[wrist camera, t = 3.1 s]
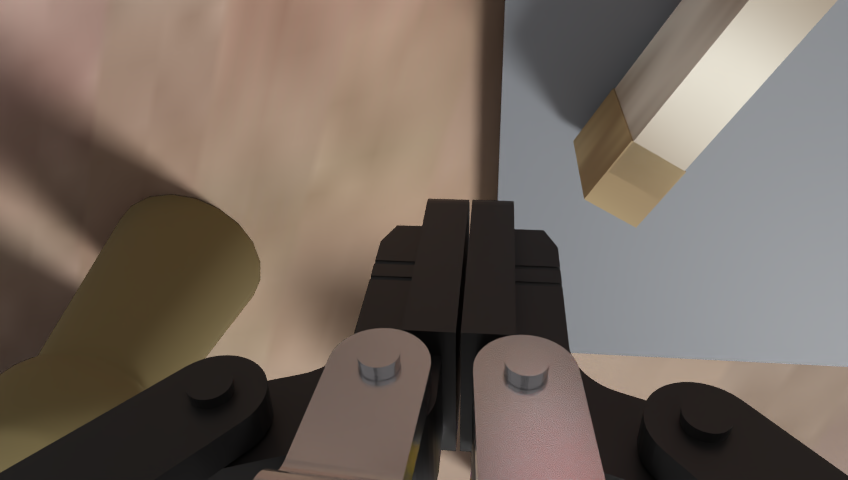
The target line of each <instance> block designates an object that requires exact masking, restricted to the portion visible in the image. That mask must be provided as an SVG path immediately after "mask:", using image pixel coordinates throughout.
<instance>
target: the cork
mask: <svg viewBox="0 0 848 480" xmlns="http://www.w3.org/2000/svg"><path fill="white" fill-rule="evenodd" d="M259 282H260V260H259V258H258V255H257V252H256V250H255V247H254V244H253V242H252V241H251V240H250V238H249V237H248V236H247V234H246V233H245V232H244V230H243V229H242V228H241V227H240V225H239V224H238V223H236V222H235V221H234V220H233V219H231V218H230V217H229V216H227V215H226V214H225V213H224V212H222V211H221V210H220V209H218V208H216V207H213V206H211V205H209V204H207V203H204V202H202V201H200V200H198V199H195V198H189V197H184V196H178V195H172V194H171V195H162V196H153V197H148V198H146V199H144V200H142V201H140V202H138V203H136V204H134V205H132V206H131V207H130V208H129V210H128V211H127V212H126V213H125V214H124V216H123V217H122V218H121V219H120V221H119V222H118V224H117V226H116V227H115V229H114V231H113V232H112V234H111V236H110V237H109V239H108V241H107V242H106V244H105V245H104V247H103V249H102V250H101V252H100V254H99V255H98V257H97V259H96V260H95V262H94V264H93V265H92V267H91V269H90V270H89V272H88V274H87V275H86V277H85V278H84V280H83V282H82V283H81V285H80V287H79V288H78V290H77V292H76V293H75V295H74V297H73V298H72V300H71V302H70V303H69V305H68V307H67V308H66V310H65V311H64V313H63V315H62V316H61V318H60V320H59V321H58V323H57V325H56V326H55V328H54V330H53V331H52V333H51V335H50V336H49V338H48V340H47V341H46V343H45V345H44V346H43V348H42V349H41V351H40V353H39V354H38V356H37V357H33V358H30V359H28V360H25V361H23V362H21V363H18V364H16V365H14V366H12V367H11V368H9V369H8V370H6V371H5V372H3V373H2V374H0V472H2V471H4V470H6V469H7V468H9V467H11V466H13V465H14V464H16V463H18V462H20V461H21V460H23V459H25V458H27V457H28V456H30V455H32V454H34V453H35V452H37V451H39V450H41V449H42V448H44V447H46V446H48V445H49V444H51V443H53V442H55V441H56V440H58V439H60V438H62V437H63V436H65V435H67V434H69V433H70V432H72V431H74V430H76V429H77V428H79V427H81V426H83V425H84V424H86V423H88V422H90V421H91V420H93V419H95V418H97V417H98V416H100V415H102V414H104V413H105V412H107V411H109V410H111V409H112V408H114V407H116V406H118V405H119V404H121V403H123V402H125V401H126V400H128V399H130V398H132V397H133V396H135V395H137V394H139V393H140V392H142V391H144V390H145V389H147V388H149V387H151V386H152V385H154V384H156V383H158V382H159V381H161V380H163V379H165V378H166V377H168V376H170V375H172V374H173V373H175V372H177V371H179V370H180V369H182V368H184V367H186V366H188V365H190V364H192V363H194V362H197V361H199V360H202V359H205V358H206V356H207V355H208V354H209V353H210V351H211V350H212V349H213V347H214V346H215V345H216V343H217V342H218V341H219V340H220V338H221V337H222V336H223V334H224V333H225V332H226V330H227V329H228V328H229V327H230V325H231V324H232V323H233V321H234V320H235V319H236V317H237V316H238V315H239V314H240V312H241V311H242V310H243V308H244V307H245V306H246V305H247V303H248V302H249V301H250V299H251V298H252V297H253V295H254V293H255V291H256V288H257V286H258V284H259Z"/></svg>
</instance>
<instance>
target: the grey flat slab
mask: <svg viewBox="0 0 848 480" xmlns="http://www.w3.org/2000/svg"><path fill="white" fill-rule="evenodd" d="M681 1H682V0H505V14H504V41H503V68H502V94H501V121H500V148H499V174H498V201H514V229H524V230H544V231H545V232H546V234H547V235H548V236H549V237H550V238H551V240H552V241H553V242H554V243H555V244H556V246H557V247H558V252H559V261H560V271H561V279H562V287H563V296H564V305H565V314H566V322H567V331H568V340H569V348H570V352H571V353H586V354H606V355H625V356H645V357H665V358H685V359H705V360H724V361H744V362H764V363H784V364H804V365H824V366H843V367H848V0H837V2H836V3H835V4H834V5H833V6H832V7H831V8H830V9H829V11H828V12H827V13H826V14H825V15H824V16H823V17H822V18H821V19H820V21H819V22H818V23H817V24H816V25H815V26H814V27H813V28H812V29H811V31H810V32H809V33H808V34H807V35H806V36H805V37H804V38H803V40H802V41H801V42H800V43H799V44H798V45H797V46H796V47H795V48H794V50H793V51H792V52H791V53H790V54H789V55H788V56H787V57H786V58H785V60H784V61H783V62H782V63H781V64H780V65H779V66H778V67H777V69H776V70H775V71H774V72H773V73H772V74H771V75H770V76H769V77H768V79H767V80H766V81H765V82H764V83H763V84H762V85H761V86H760V88H759V89H758V90H757V91H756V92H755V93H754V94H753V95H752V96H751V98H750V99H749V100H748V101H747V102H746V103H745V104H744V105H743V106H742V108H741V109H740V110H739V111H738V112H737V113H736V114H735V115H734V117H733V118H732V119H731V120H730V121H729V122H728V123H727V124H726V125H725V127H724V128H723V129H722V130H721V131H720V132H719V133H718V134H717V135H716V137H715V138H714V139H713V140H712V141H711V142H710V143H709V144H708V146H707V147H706V148H705V149H704V150H703V151H702V152H701V153H700V154H699V156H698V157H697V158H696V159H695V160H694V161H693V162H692V163H691V165H690V166H689V167H688V168H687V169H686V170H685V171H686V173H685V174H684V175H683V176H682V177H681V178H680V179H679V181H678V182H677V183H676V184H675V185H674V186H673V187H672V188H671V189H670V191H669V192H668V193H667V194H666V195H665V196H664V197H663V198H662V199H661V201H660V202H659V203H658V204H657V205H656V206H655V207H654V208H653V209H652V211H651V212H650V213H649V214H648V215H647V216H646V217H645V218H644V219H643V221H642V222H641V223H640V224H639V225H638V226H637V227H634V226H632V225H630V224H628V223H626V222H625V221H623V220H621V219H619V218H617V217H616V216H614V215H612V214H610V213H608V212H606V211H605V210H603V209H601V208H599V207H597V206H596V205H594V204H592V203H590V202H588V201H586V200H585V199H584V196H583V191H582V185H581V180H580V175H579V169H578V164H577V159H576V153H575V148H574V142H573V141H574V139H575V138H576V137H577V135H578V134H579V133H580V131H581V130H582V129H583V127H584V126H585V125H586V123H587V122H588V121H589V120H590V118H591V117H592V116H593V114H594V113H595V112H596V110H597V109H598V108H599V106H600V105H601V104H602V102H603V101H604V100H605V98H606V97H607V96H608V94H609V93H610V92H611V90H612V89H613V88H614V89H615V88H616V86H617V85H618V84H619V82H620V81H621V80H622V79H623V77H624V76H625V75H626V73H627V72H628V71H629V69H630V68H631V67H632V65H633V64H634V63H635V61H636V60H637V59H638V57H639V56H640V55H641V53H642V52H643V51H644V49H645V48H646V47H647V46H648V44H649V43H650V42H651V40H652V39H653V38H654V36H655V35H656V34H657V32H658V31H659V30H660V28H661V27H662V26H663V24H664V23H665V22H666V20H667V19H668V18H669V16H670V15H671V14H672V13H673V11H674V10H675V9H676V7H677V6H678V5H679V3H680V2H681Z"/></svg>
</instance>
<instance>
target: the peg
mask: <svg viewBox="0 0 848 480" xmlns="http://www.w3.org/2000/svg"><path fill="white" fill-rule="evenodd" d="M836 2H837V0H682V1H681V2H680V3H679V5H678V6H677V7H676V9H675V10H674V11H673V13H672V14H671V15H670V16H669V18H668V19H667V20H666V22H665V23H664V24H663V26H662V27H661V28H660V30H659V31H658V32H657V34H656V35H655V36H654V38H653V39H652V40H651V42H650V43H649V44H648V46H647V47H646V48H645V49H644V51H643V52H642V53H641V55H640V56H639V57H638V59H637V60H636V61H635V63H634V64H633V65H632V67H631V68H630V69H629V71H628V72H627V73H626V75H625V76H624V77H623V79H622V80H621V81H620V82H619V84H618V85H617V86H616V88H615V89H614V88H613V89H612V90H611V92H610V93H609V94H608V96H607V97H606V98H605V100H604V101H603V102H602V104H601V105H600V106H599V108H598V109H597V110H596V112H595V113H594V114H593V116H592V117H591V118H590V120H589V121H588V122H587V123H586V125H585V126H584V127H583V129H582V130H581V131H580V133H579V134H578V135H577V137H576V138H575V139H574V141H573V142H574V148H575V153H576V159H577V164H578V169H579V175H580V180H581V185H582V191H583V196H584V199H585V200H586V201H588V202H590V203H592V204H594V205H596V206H597V207H599V208H601V209H603V210H605V211H606V212H608V213H610V214H612V215H614V216H616V217H617V218H619V219H621V220H623V221H625V222H626V223H628V224H630V225H632V226H634V227H637V226H638V225H639V224H640V223H641V222H642V221H643V219H644V218H645V217H646V216H647V215H648V214H649V213H650V212H651V211H652V209H653V208H654V207H655V206H656V205H657V204H658V203H659V202H660V201H661V199H662V198H663V197H664V196H665V195H666V194H667V193H668V192H669V191H670V189H671V188H672V187H673V186H674V185H675V184H676V183H677V182H678V181H679V179H680V178H681V177H682V176H683V175H684V174H685V173H686V171H685V170H686V169H687V168H688V167H689V166H690V165H691V163H692V162H693V161H694V160H695V159H696V158H697V157H698V156H699V154H700V153H701V152H702V151H703V150H704V149H705V148H706V147H707V146H708V144H709V143H710V142H711V141H712V140H713V139H714V138H715V137H716V135H717V134H718V133H719V132H720V131H721V130H722V129H723V128H724V127H725V125H726V124H727V123H728V122H729V121H730V120H731V119H732V118H733V117H734V115H735V114H736V113H737V112H738V111H739V110H740V109H741V108H742V106H743V105H744V104H745V103H746V102H747V101H748V100H749V99H750V98H751V96H752V95H753V94H754V93H755V92H756V91H757V90H758V89H759V88H760V86H761V85H762V84H763V83H764V82H765V81H766V80H767V79H768V77H769V76H770V75H771V74H772V73H773V72H774V71H775V70H776V69H777V67H778V66H779V65H780V64H781V63H782V62H783V61H784V60H785V58H786V57H787V56H788V55H789V54H790V53H791V52H792V51H793V50H794V48H795V47H796V46H797V45H798V44H799V43H800V42H801V41H802V40H803V38H804V37H805V36H806V35H807V34H808V33H809V32H810V31H811V29H812V28H813V27H814V26H815V25H816V24H817V23H818V22H819V21H820V19H821V18H822V17H823V16H824V15H825V14H826V13H827V12H828V11H829V9H830V8H831V7H832V6H833V5H834V4H835V3H836Z"/></svg>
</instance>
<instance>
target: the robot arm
mask: <svg viewBox="0 0 848 480" xmlns="http://www.w3.org/2000/svg"><path fill="white" fill-rule="evenodd" d="M460 392H461V399H460ZM459 404H460V451H469V452H471V480H848V475H846V474H845V473H843V472H842V471H840V470H839V469H838V468H836V467H835V466H833V465H832V464H831V463H829V462H828V461H826V460H825V459H824V458H822V457H821V456H819V455H818V454H817V453H815V452H814V451H812V450H811V449H810V448H808V447H807V446H805V445H804V444H803V443H801V442H800V441H798V440H797V439H796V438H794V437H793V436H791V435H790V434H789V433H787V432H786V431H784V430H783V429H782V428H780V427H779V426H777V425H776V424H775V423H773V422H772V421H770V420H769V419H768V418H766V417H765V416H763V415H762V414H761V413H759V412H758V411H756V410H755V409H753V408H752V407H751V406H749V405H748V404H746V403H745V402H744V401H742V400H741V399H739V398H738V397H736V396H734V395H733V394H731V393H729V392H727V391H725V390H722V389H720V388H717V387H714V386H710V385H706V384H702V383H695V382H680V383H673V384H669V385H665V386H663V387H661V388H659V389H657V390H656V391H655V392H653V393H652V394H651V395H650V396H649V398H648V399H647V401H646V400H643V399H639V398H636V397H633V396H629V395H626V394H623V393H620V392H617V391H614V390H611V389H609V388H607V387H604V386H602V385H600V384H599V383H597V382H595V381H594V380H592V379H591V378H590V377H588V376H587V375H586V374H585V373H584V372H583V371H582V370H581V369H580V368H579V367H578V364H577V362H576V361H575V359H574V357H573V356H572V355H571V352H570V348H569V340H568V331H567V322H566V314H565V305H564V296H563V287H562V279H561V271H560V261H559V252H558V247H557V246H556V244H555V243H554V242H553V241H552V240H551V238H550V237H549V236H548V235H547V234H546V232H545V231H544V230H524V229H514V201H495V200H473V201H472V212H471V223H470V234H469V200H455V199H428V201H427V205H426V210H425V215H424V220H423V225H422V226H398V225H397V226H396V227H395V228H394V229H393V230H392V231H391V232H390V233H389V234H388V235H387V236H386V237H385V238H384V239H383V240H382V241H381V243H380V246H379V250H378V253H377V256H376V260H375V264H374V267H373V270H372V274H371V279H370V281H369V284H368V287H367V291H366V294H365V298H364V301H363V305H362V308H361V312H360V315H359V318H358V322H357V325H356V329H355V332H354V335H351V336H349V337H348V338H346V339H344V340H343V341H342V342H341V343H339V344H338V345H337V346H336V347H335V349H334V350H333V351H332V353H331V355H330V357H329V359H328V361H327V363H326V366H324V367H322V368H320V369H317V370H314V371H312V372H309V373H304V374H300V375H295V376H290V377H285V378H279V379H274V380H269V381H267V378H266V375H265V373H264V371H263V369H262V368H261V367H260V366H259V365H258V364H256V363H255V362H253V361H251V360H249V359H247V358H243V357H239V356H230V355H226V356H215V357H209V358H206V359H202V360H199V361H197V362H194V363H192V364H190V365H188V366H186V367H184V368H182V369H180V370H179V371H177V372H175V373H173V374H172V375H170V376H168V377H166V378H165V379H163V380H161V381H159V382H158V383H156V384H154V385H152V386H151V387H149V388H147V389H145V390H144V391H142V392H140V393H139V394H137V395H135V396H133V397H132V398H130V399H128V400H126V401H125V402H123V403H121V404H119V405H118V406H116V407H114V408H112V409H111V410H109V411H107V412H105V413H104V414H102V415H100V416H98V417H97V418H95V419H93V420H91V421H90V422H88V423H86V424H84V425H83V426H81V427H79V428H77V429H76V430H74V431H72V432H70V433H69V434H67V435H65V436H63V437H62V438H60V439H58V440H56V441H55V442H53V443H51V444H49V445H48V446H46V447H44V448H42V449H41V450H39V451H37V452H35V453H34V454H32V455H30V456H28V457H27V458H25V459H23V460H21V461H20V462H18V463H16V464H14V465H13V466H11V467H9V468H7V469H6V470H4V471H2V472H0V480H437V477H438V472H439V463H440V453H441V450H450V451H456V442H457V429H458V417H459Z"/></svg>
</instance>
